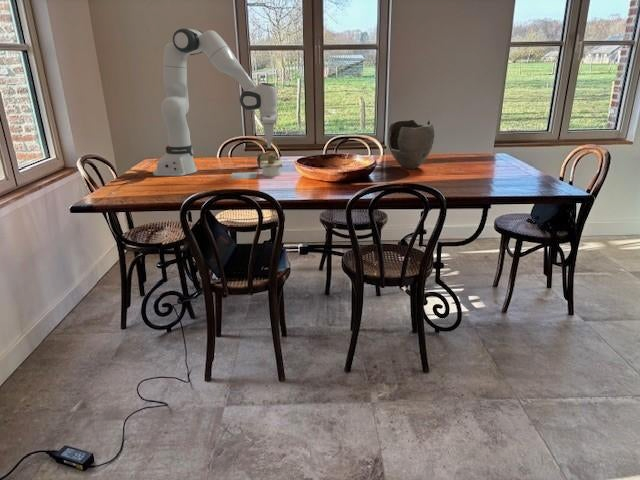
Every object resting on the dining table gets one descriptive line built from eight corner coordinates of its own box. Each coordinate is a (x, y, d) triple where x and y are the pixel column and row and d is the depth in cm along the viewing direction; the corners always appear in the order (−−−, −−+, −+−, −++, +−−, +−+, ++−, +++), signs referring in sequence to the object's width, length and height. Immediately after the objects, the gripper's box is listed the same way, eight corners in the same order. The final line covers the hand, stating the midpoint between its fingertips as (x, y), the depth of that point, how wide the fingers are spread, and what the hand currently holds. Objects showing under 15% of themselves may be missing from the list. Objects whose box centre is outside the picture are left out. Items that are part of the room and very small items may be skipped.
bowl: (262, 177, 234) (262, 167, 232) (263, 173, 243) (262, 163, 241) (280, 177, 235) (280, 166, 233) (280, 172, 244) (279, 162, 242)
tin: (260, 169, 251) (259, 154, 248) (256, 169, 253) (255, 153, 250) (279, 164, 262) (278, 150, 259) (275, 164, 264) (274, 149, 261)
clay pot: (429, 163, 260) (432, 118, 251) (434, 174, 238) (438, 124, 229) (386, 163, 262) (388, 118, 253) (387, 173, 240) (389, 124, 231)
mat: (230, 179, 231) (230, 178, 231) (232, 173, 243) (232, 172, 243) (256, 178, 232) (256, 178, 232) (257, 172, 244) (257, 172, 244)
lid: (260, 167, 231) (259, 157, 230) (260, 162, 242) (260, 153, 240) (282, 166, 232) (281, 157, 231) (281, 162, 243) (281, 152, 241)
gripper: (262, 115, 238) (263, 142, 243) (261, 120, 219) (262, 149, 224) (274, 115, 238) (275, 142, 243) (275, 120, 219) (275, 149, 224)
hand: (269, 145), depth 233 cm, fingers open, 8 cm apart
